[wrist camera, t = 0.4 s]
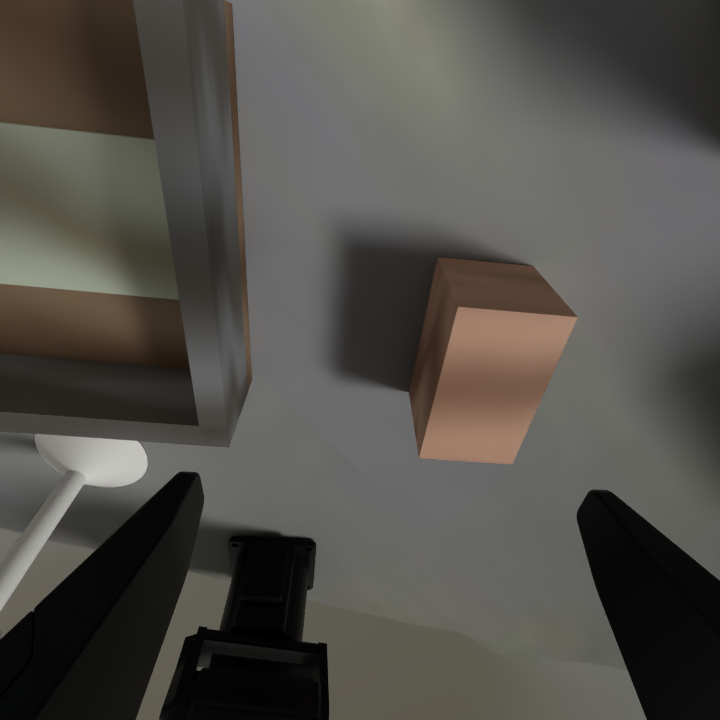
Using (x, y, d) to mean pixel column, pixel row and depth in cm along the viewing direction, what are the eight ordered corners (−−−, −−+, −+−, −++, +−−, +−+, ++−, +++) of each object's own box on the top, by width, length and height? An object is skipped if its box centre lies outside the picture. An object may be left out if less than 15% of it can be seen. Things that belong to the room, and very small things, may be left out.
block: (486, 396, 24) (512, 464, 20) (408, 391, 24) (418, 458, 20) (532, 264, 20) (577, 317, 16) (436, 256, 19) (457, 306, 15)
